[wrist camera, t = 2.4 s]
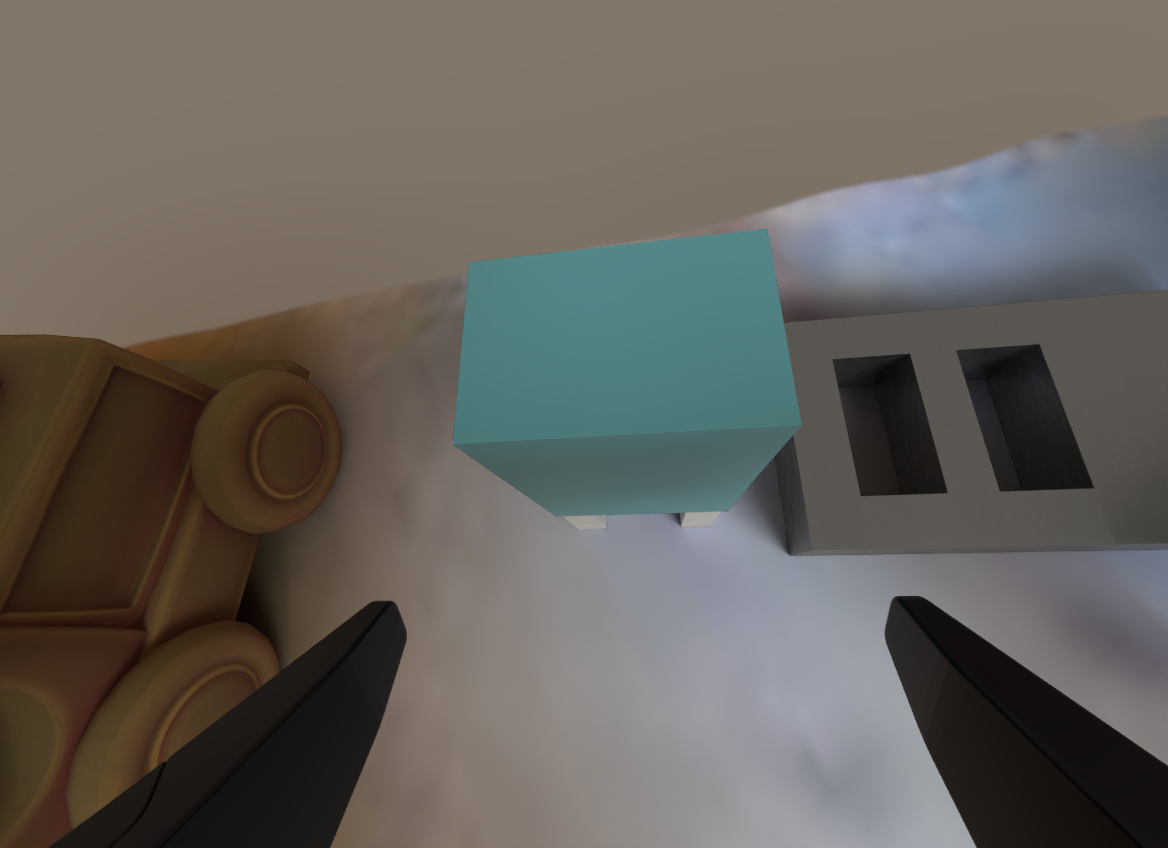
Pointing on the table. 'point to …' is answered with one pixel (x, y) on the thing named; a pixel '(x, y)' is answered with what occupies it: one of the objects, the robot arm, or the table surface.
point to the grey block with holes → (954, 439)
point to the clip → (628, 376)
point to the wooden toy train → (134, 558)
